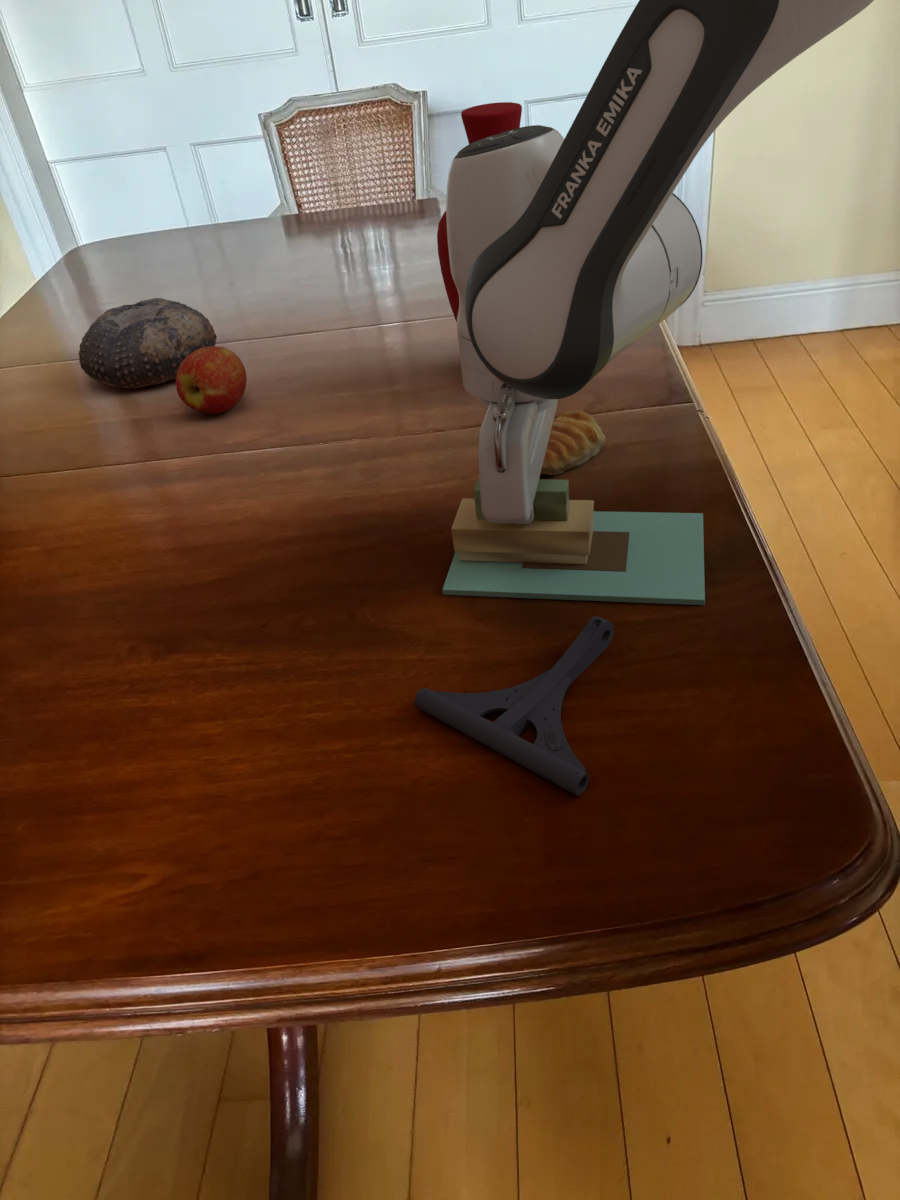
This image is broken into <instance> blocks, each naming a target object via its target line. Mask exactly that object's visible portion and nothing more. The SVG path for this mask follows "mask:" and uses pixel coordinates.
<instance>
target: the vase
mask: <svg viewBox="0 0 900 1200" xmlns="http://www.w3.org/2000/svg"><path fill="white" fill-rule="evenodd" d="M522 113H523V106H522V104H520V103H518V102H513V101H502V102H501V101H500V102H490V103H483V104H479V105H478V104H477V105H474V106H471V107H468V108H465V109H463V110H462V111H461V112H460V117H461V121H462V124H463V127H464V131H465V134H466V139H467V141H468V142H467V143H468V145H469V144H471V143H474V142H476V141H479V140H481V139H484V138H486V137H489V136H494V135H497V134H500V133H502V132H504V131H508V130H512V129H516V128H521V121H522ZM437 226H438V227H437V233H436V240H437V256H438V260H439V267H440V272H441V276H442V281H443V284H444V288H445V292H446V296H447V299H448V302H449V305H450V308H451V313H452V315H453V317H454V321H455V323H457V316H458V311H459V294H458V290H457V287H456V284H455V282H454V280H453V277H452V273H451V268H450V259H449V249H448V237H447V220H446V210H445V211H444V212H443V214H442V216H441V218H440V220H439V222H438V225H437Z"/></svg>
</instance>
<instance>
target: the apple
mask: <svg viewBox="0 0 900 1200" xmlns="http://www.w3.org/2000/svg"><path fill="white" fill-rule="evenodd" d="M247 380H248V379H247V371H246V368H245V365H244V364H243V361H242V360H241V358H240V357H239V355H237V354H236V352H234V351H232V350H230V349H228V348H225V347H222V346H214V347H204V348H200V349H198V350H196V351H194V352H192V353H191V354H190V355H188V356H187V357H186V358H185V359H184V360H183V362H182V363H181V365H180V366H179V368H178V371H177V375H176V379H175V387H176V392H177V394H178V397H179V399H180V400H181V401H182V403H183V404H185V406H187V407H188V408H190V409H192V410H194V411H197V412H200V413H203V414H207V415H208V414H209V415H215V414H221V413H224V412H227V411H229V410H230V409H232V408H233V407H234V406H236V405H237V404H238V403H239V402H240V401H241V399H242V397H243V395H244V393H245V391H246V388H247V382H248V381H247Z"/></svg>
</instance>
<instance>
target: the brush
mask: <svg viewBox="0 0 900 1200" xmlns="http://www.w3.org/2000/svg"><path fill="white" fill-rule="evenodd" d="M534 504H535V514H534V518H533V522H532V523H530V524H517V523H493V522H488V521H487V520H486V519H485V518H484V516H483V513H482V508H481V496H480V479H479V478H477V480H476V482H475V485H474V488H473V498H468V497H467V498H466V497H465V498H461V500H460V503H459V506H458V509H457V511H456V515H455V517H454V520H453V523H452V525H451V528H450V529H451V537H452V546H453V551H454V552H456V551H457V552H459V559H460V560H462V561H495V562H527V563H560V564H587V559H588V555H590V549H591V542H592V535H593V529H594V511H595V500H594V499H570V482H569V479H552V478H551V479H550V478H549V479H543V478H542V479H541V478H539V481H538V486H537V490H536V494H535V498H534Z"/></svg>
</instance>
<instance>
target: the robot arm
mask: <svg viewBox="0 0 900 1200" xmlns="http://www.w3.org/2000/svg"><path fill="white" fill-rule="evenodd" d="M874 1H875V0H638V2H637V4H636V5H635V6H634V8H633V10H632V12H631V13H630V15H629V17H628V19H627V20H626V22H625V24H624V26H623V28H622V30H621V31H620V33H619V35H618V36H617V38H616V40H615V42H614V44H613V46H612V48H611V50H610V51H609V53H608V55H607V57H606V59H605V61H604V62H603V64H602V67H601V69H600V70H599V72H598V75H597V76H596V78H595V80H594V81H593V84H592V85H591V87H590V89H589V91H588V93H587V95H586V97H585V99H584V101H583V103H582V105H581V106H580V108H579V110H578V112H577V114H576V116H575V118H574V120H573V122H572V124H571V126H570V127H569V129H568V131H567V133H566V135H565V137H564V136H563V135H562V134H561V133H560V132H559V130H557V129H556V128H553V127H551V126H546V125H540V124H536V125H526V126H522V127H521V126H520V128H516V129H512V130H508V131H504V132H502V133H500V134H497V135H494V136H489V137H486V138H484V139H481V140H479V141H476V142H474V143H471V144H469V143H468V144H467V145H466V146H464V147H463V148H462V149H460V150H459V151H458V152H457V154H456V155H455V156H454V157H453V158H452V160H451V163H450V166H449V169H448V174H447V182H446V190H445V192H446V193H445V194H446V195H445V211H446V220H447V237H448V249H449V259H450V268H451V273H452V277H453V280H454V282H455V284H456V287H457V290H458V294H459V311H458V316H457V322H456V332H457V333H456V334H457V342H458V350H459V359H460V360H459V361H460V369H461V379H462V387H463V389H464V390H465V391H466V392H467V393H468V394H469V395H470V396H472V397H474V398H476V399H479V400H480V405H481V406H482V407H483V409H484V410H486V412H485V415H484V418H483V422H482V423H481V425H480V430H479V435H478V447H477V448H478V451H477V452H478V455H477V457H478V458H477V459H478V475H479V477H478V479H480V496H481V508H482V513H483V516H484V518H485V519H486V520H487V521H488V522H493V523H517V524H530V523H532V522H533V518H534V514H535V504H534V498H535V494H536V490H537V486H538V481H539V479H540V478H541V477H540V476H541V474H540V473H541V469H542V465H543V461H544V457H545V453H546V449H547V445H548V441H549V437H550V433H551V429H552V425H553V420H555V417H556V412H557V409H558V404H559V403H558V402H559V400H560V399H565V398H569V397H571V396H573V395H574V394H577V392H579V391H581V390H582V389H583V388H584V387H586V385H587V384H588V383H589V382H590V381H591V380H592V379H594V378H595V377H596V376H597V375H598V374H599V373H600V372H601V371H602V370H603V369H604V368H605V367H606V366H607V364H608V363H610V362H611V361H612V360H614V359H615V358H617V357H618V356H619V355H621V354H622V353H623V352H625V351H626V350H627V349H628V348H630V347H631V346H632V345H634V344H635V343H637V342H638V341H639V340H641V339H643V338H644V336H646V335H648V333H650V331H652V330H653V329H655V327H657V326H658V325H659V324H661V323H662V322H663V321H665V320H666V319H667V318H668V317H670V316H671V315H672V314H673V313H675V312H676V311H677V310H678V309H679V308H680V307H682V306H683V305H684V303H686V302H687V300H688V299H690V297H691V295H692V294H693V292H694V291H695V289H696V287H697V285H698V282H699V279H700V276H701V272H702V267H703V245H702V244H703V243H702V237H701V233H700V230H699V228H698V225H697V223H696V221H695V218H694V216H693V214H692V213H691V211H690V209H689V208H688V207H687V205H686V204H685V202H683V200H682V199H681V198H680V197H679V196H677V194H675V193H674V191H675V190H676V188H677V186H678V185H679V183H680V182H681V180H682V179H683V177H684V175H685V174H686V172H687V171H688V169H689V167H690V166H691V165H692V163H693V161H694V159H695V158H696V156H698V154H699V152H700V151H701V149H702V148H703V146H704V145H705V143H707V141H708V140H709V138H710V137H711V136H712V134H713V133H714V132H715V131H716V130H717V128H718V127H719V126H720V125H721V124H722V123H723V121H724V120H725V119H726V118H727V117H728V116H729V115H730V114H731V113H732V112H733V111H734V110H735V109H736V108H737V107H738V106H739V105H740V104H741V103H742V102H743V101H744V100H745V99H746V98H747V97H749V96H750V95H751V94H752V93H753V92H754V91H755V90H756V89H758V88H759V87H760V86H761V85H762V84H764V83H765V82H766V81H767V80H768V79H770V78H771V77H772V76H773V75H775V74H777V72H778V71H780V70H781V69H782V68H784V67H786V66H787V65H788V64H790V63H791V62H792V61H793V60H794V59H796V58H797V57H799V56H801V55H802V54H803V53H804V52H806V51H807V50H809V49H810V48H812V46H814V45H816V44H817V43H818V42H820V41H821V40H823V39H825V38H826V37H827V36H828V35H830V34H832V33H833V32H835V31H836V30H837V29H839V28H840V27H842V26H844V25H845V24H846V23H847V22H849V21H851V20H852V19H853V18H854V17H856V16H857V15H858V14H860V13H862V11H864V10H865V9H867V7H869V6H870V5H871V4H872V3H873V2H874Z"/></svg>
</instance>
